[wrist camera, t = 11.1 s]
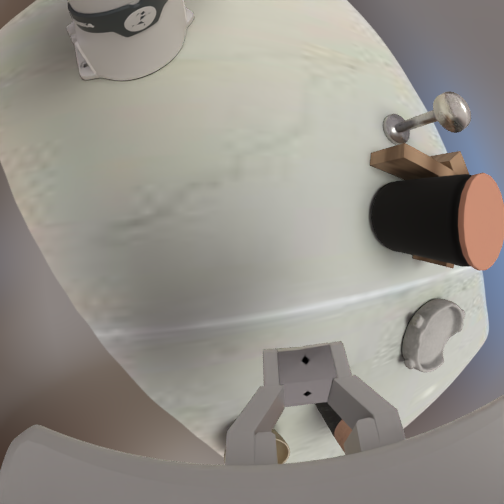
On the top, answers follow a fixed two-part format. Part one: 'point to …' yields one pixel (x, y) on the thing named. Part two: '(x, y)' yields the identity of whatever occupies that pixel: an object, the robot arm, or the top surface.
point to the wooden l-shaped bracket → (418, 169)
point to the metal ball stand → (430, 118)
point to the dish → (431, 334)
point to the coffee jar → (442, 218)
